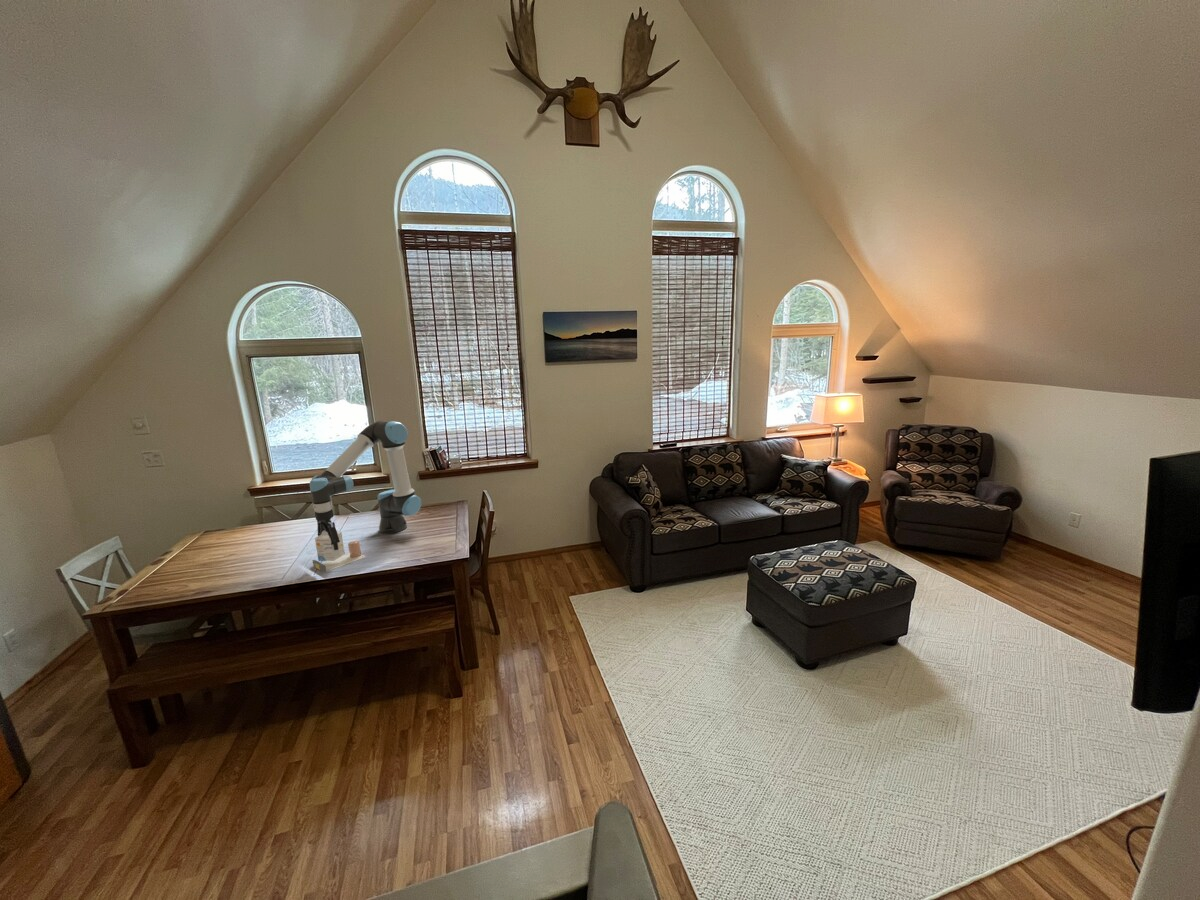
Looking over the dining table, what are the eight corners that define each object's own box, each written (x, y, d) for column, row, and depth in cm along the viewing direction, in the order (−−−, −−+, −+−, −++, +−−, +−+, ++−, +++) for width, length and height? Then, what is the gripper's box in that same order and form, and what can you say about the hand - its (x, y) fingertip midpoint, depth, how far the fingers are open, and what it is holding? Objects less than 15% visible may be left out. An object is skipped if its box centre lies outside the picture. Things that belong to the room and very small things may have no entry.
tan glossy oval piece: (358, 552, 243) (356, 540, 241) (363, 555, 240) (360, 542, 238) (348, 556, 239) (346, 543, 238) (353, 558, 236) (350, 545, 235)
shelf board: (355, 554, 245) (354, 545, 244) (366, 559, 238) (365, 551, 237) (313, 569, 230) (311, 560, 229) (323, 575, 222) (322, 566, 222)
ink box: (317, 561, 228) (313, 534, 225) (329, 553, 236) (324, 528, 233) (334, 561, 227) (329, 534, 224) (345, 553, 235) (341, 528, 232)
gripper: (304, 508, 231) (312, 550, 235) (325, 517, 216) (333, 561, 221) (321, 504, 236) (328, 545, 241) (342, 512, 222) (350, 555, 226)
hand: (331, 553), depth 231 cm, fingers closed on ink box, 11 cm apart
